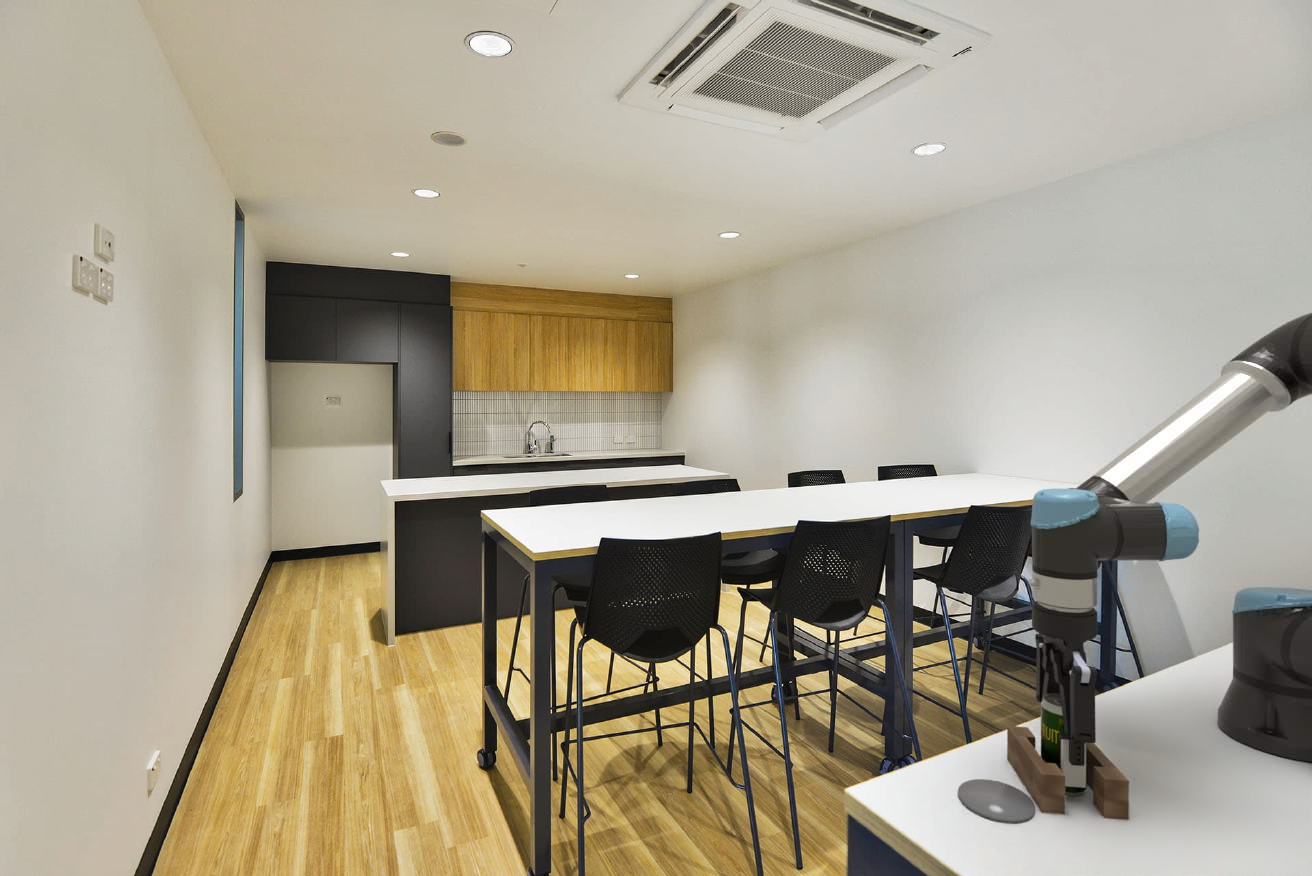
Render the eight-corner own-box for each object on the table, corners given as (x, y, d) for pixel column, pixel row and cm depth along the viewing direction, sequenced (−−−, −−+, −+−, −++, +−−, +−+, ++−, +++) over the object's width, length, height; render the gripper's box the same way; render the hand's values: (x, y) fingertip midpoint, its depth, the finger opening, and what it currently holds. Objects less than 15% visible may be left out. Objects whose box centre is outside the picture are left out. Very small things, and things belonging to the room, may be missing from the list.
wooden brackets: (1082, 764, 95) (1082, 730, 95) (1128, 819, 83) (1128, 780, 82) (1007, 759, 97) (1007, 725, 97) (1041, 812, 85) (1041, 774, 84)
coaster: (1020, 785, 90) (1020, 782, 90) (1046, 826, 82) (1046, 822, 82) (950, 780, 92) (950, 776, 92) (968, 819, 83) (968, 815, 83)
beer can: (1067, 774, 93) (1068, 690, 92) (1097, 796, 88) (1097, 707, 87) (1031, 777, 92) (1031, 693, 92) (1059, 799, 87) (1059, 710, 86)
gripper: (1010, 585, 99) (1010, 737, 100) (1061, 625, 81) (1061, 810, 82) (1065, 586, 97) (1065, 741, 98) (1130, 627, 79) (1129, 816, 80)
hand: (1063, 772), depth 90 cm, fingers closed on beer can, 5 cm apart
